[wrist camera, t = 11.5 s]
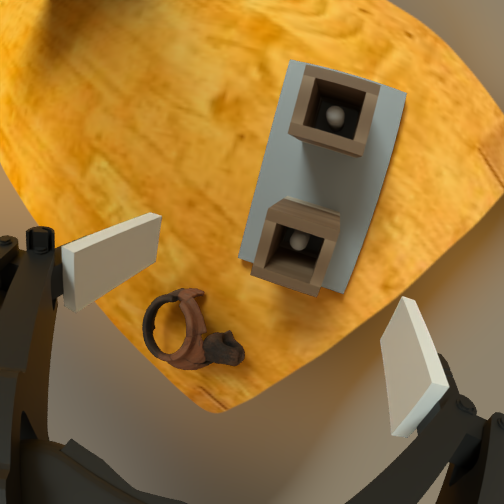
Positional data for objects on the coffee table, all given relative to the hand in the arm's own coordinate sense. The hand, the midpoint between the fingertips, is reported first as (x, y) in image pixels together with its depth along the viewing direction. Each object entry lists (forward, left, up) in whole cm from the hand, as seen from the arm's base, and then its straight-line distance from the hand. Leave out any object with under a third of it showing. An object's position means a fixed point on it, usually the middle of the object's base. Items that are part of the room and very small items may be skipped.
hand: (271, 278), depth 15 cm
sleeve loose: (0, 0, -14) cm, 14 cm away
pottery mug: (+15, -7, -16) cm, 23 cm away
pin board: (-5, 0, -15) cm, 16 cm away
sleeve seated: (-10, 0, -14) cm, 17 cm away
